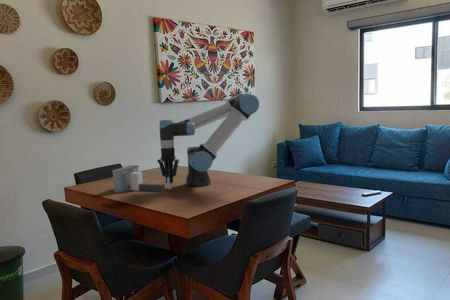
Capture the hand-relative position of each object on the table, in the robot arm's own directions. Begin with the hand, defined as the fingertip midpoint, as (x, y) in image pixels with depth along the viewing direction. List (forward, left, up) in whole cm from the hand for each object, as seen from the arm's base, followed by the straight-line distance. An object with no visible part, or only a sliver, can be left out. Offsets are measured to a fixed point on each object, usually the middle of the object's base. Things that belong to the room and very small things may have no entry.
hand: (169, 188), depth 213 cm
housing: (+29, 0, -1) cm, 29 cm away
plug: (+14, 0, -2) cm, 15 cm away
